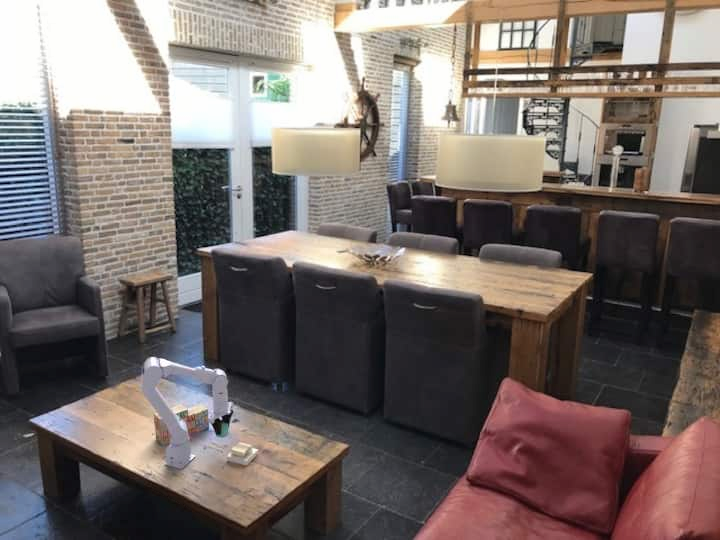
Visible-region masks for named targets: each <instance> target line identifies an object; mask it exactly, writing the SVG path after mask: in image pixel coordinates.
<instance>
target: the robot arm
mask: <svg viewBox="0 0 720 540" xmlns="http://www.w3.org/2000/svg"><path fill="white" fill-rule="evenodd" d="M171 374H172V375H177V376H182V377H183V376H184V377H188V378H192V381H194V382H197V383H202V384H207V385H212V389H211V390H212V404H213V407H212V409H213V410H212V412H211V414H210V416H208V423H209V424H210V425H211V426H212V428H213V431H214V433H215V436H216V435H221V427H222V423H223V422H226V423H228V428H230V423H231V419H232V417H233V414H234V410H233V409H232V408H234V402H232V401H229V397H228V396H229V395H228V384H229V380H228V377H227V374H226V372H225V371H224V370H222V369H220V368H214V369H211V368H207V367H206V366H205V365H201V366H195V367H190V366H188V365H187V366H186V365H184V364H181V363H176V362H173V361H170V360H167V359H165V358H158V357H156V356H151V357H148V358H147V359H146V360H145V361H144V362H143V364H142V367H141V378H140V390H141V393H142V394H143V395H144V396H145V398H146V399H147V401H148V402H149V403H150V405H151V406H152V407H153V409H154V410H155V412H156V413H158V414H159V416H160V417H161V418H162V420H163V421H164V422H165V424H166V425H167V427H168V430H169V432H170V433H171V435H172V437H171V439H170V443H168V444H169V445H168V446H167V447H166V448H165V450H164V451H165V452H164V453H165V454H164V455H165V462H164V466H169V467H172V468H176V469H180V470H181V469H183V468H184V467H186V465H188V464H189V463H191V461H193V460H194V459H195V458H196V454H191V441H190V435H189V433H188V430H187V424H186V422H185V421H184V420H183V419H181V418H179V416H178V415H176V414H175V413H174V411H173V410H172V409H171V408H172V407H171V405H170V404H169V403H168V401H167V400H166V399H165V397H164V396H163V395H162V393H161V392H160V390H159V389H158V388H157V387H156V385H157V384H158V382H159V381H160V380H161V378H162V377H163V378H166V377H168V376H170V375H171Z"/></svg>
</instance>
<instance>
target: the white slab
mask: <svg viewBox="0 0 720 540" xmlns="http://www.w3.org/2000/svg"><path fill="white" fill-rule="evenodd" d="M252 449H253V451H252V452H251V453H250V454H249V455H247V456H246V457H245V458H240V457H236V456H233V455H231V452H229V453H228V454H227V455H226V461H228V462H231V463H235V464H239V465H243V466H248V465H249V463H251V462H252V461H253V459H255V458H256V457H257V455H259V449H258V448H254V447H252Z"/></svg>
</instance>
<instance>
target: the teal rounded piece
mask: <svg viewBox="0 0 720 540" xmlns="http://www.w3.org/2000/svg"><path fill="white" fill-rule="evenodd" d="M229 428H230V427H229ZM229 428H228V423H226V422H223V423H222V427H221V435H216V434H215V436H216V437H217V438H225V437H228V436H229V434H230V432H229V431H230V430H229Z"/></svg>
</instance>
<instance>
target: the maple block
mask: <svg viewBox="0 0 720 540" xmlns="http://www.w3.org/2000/svg"><path fill="white" fill-rule="evenodd" d="M252 448H253V445H251V444H248V443H245V442H241V441H239V442H238V443H237V444H236V445H234V446H233V447H232V448H231V449H230V453H231V455H233V456H236V457H240V458H245V457H246V456H247V455H249V454H250V453H251V452H252V451H253V449H252Z"/></svg>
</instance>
